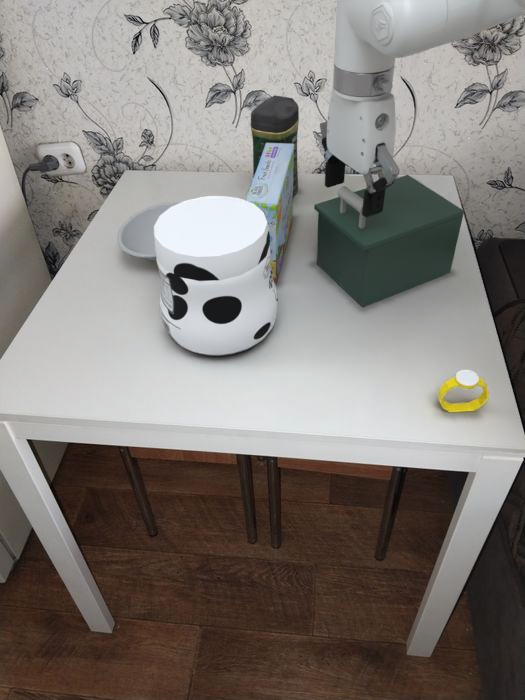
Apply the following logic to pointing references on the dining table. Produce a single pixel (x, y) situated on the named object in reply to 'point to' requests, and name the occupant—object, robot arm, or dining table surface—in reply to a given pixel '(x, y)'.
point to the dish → (141, 232)
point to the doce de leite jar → (215, 274)
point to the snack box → (275, 197)
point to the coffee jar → (275, 128)
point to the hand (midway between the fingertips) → (352, 198)
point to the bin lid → (388, 212)
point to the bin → (386, 260)
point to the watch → (465, 381)
